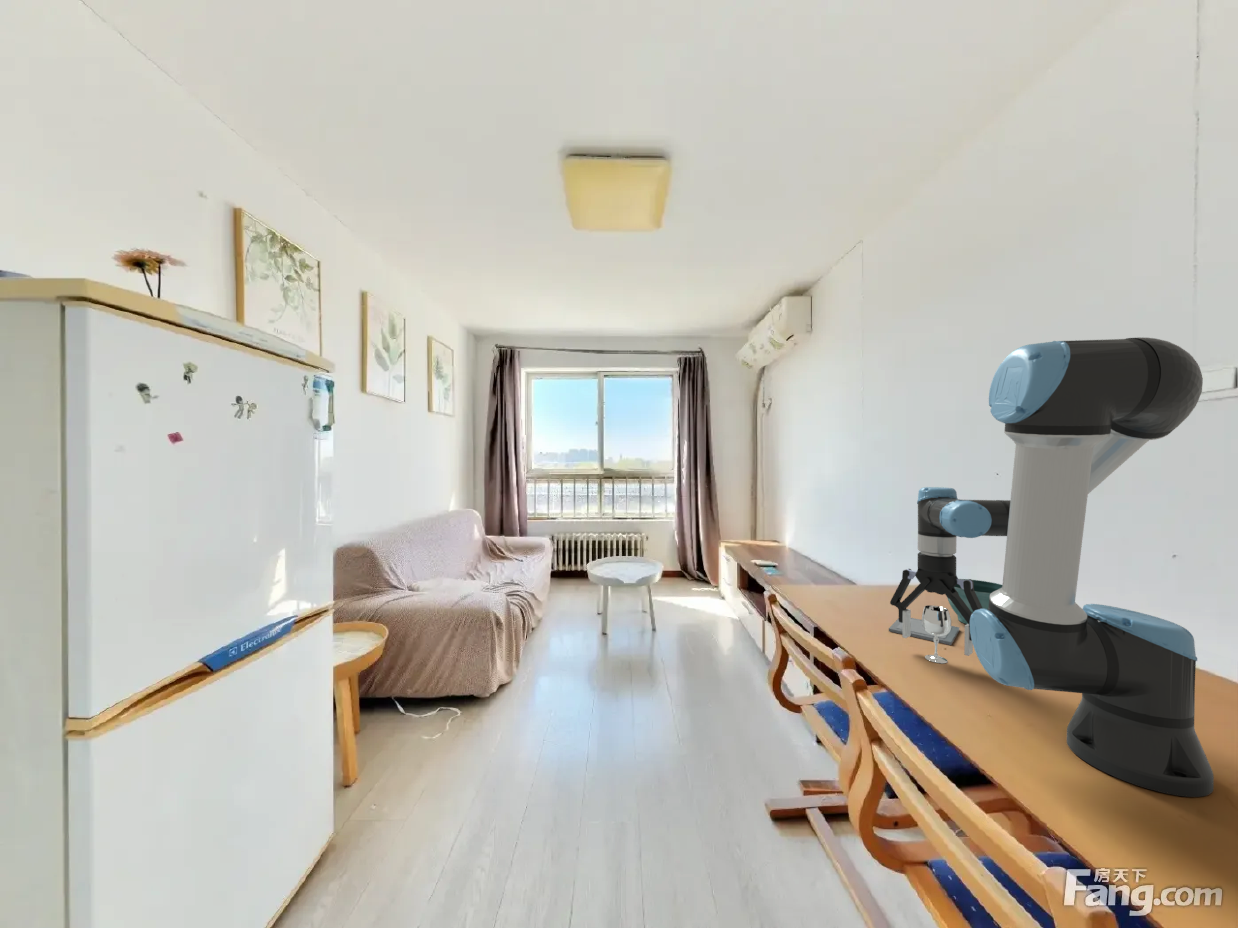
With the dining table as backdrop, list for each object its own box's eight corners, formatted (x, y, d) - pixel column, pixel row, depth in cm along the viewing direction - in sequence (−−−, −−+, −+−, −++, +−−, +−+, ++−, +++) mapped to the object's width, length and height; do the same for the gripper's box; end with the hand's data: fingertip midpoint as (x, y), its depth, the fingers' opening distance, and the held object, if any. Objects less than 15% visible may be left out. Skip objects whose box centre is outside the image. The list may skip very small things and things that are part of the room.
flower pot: (951, 610, 144) (952, 575, 144) (1020, 623, 133) (1020, 585, 132) (937, 622, 134) (937, 585, 133) (1010, 638, 122) (1010, 597, 122)
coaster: (951, 645, 117) (951, 641, 117) (888, 631, 127) (888, 627, 127) (959, 630, 128) (959, 626, 128) (901, 618, 137) (901, 615, 137)
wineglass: (952, 658, 109) (953, 608, 109) (948, 666, 105) (949, 614, 105) (924, 651, 113) (924, 602, 113) (919, 659, 109) (919, 608, 109)
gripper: (1007, 560, 102) (1006, 658, 102) (888, 543, 121) (888, 626, 121) (996, 564, 97) (995, 667, 97) (875, 547, 116) (874, 632, 117)
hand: (936, 644), depth 109 cm, fingers open, 12 cm apart
